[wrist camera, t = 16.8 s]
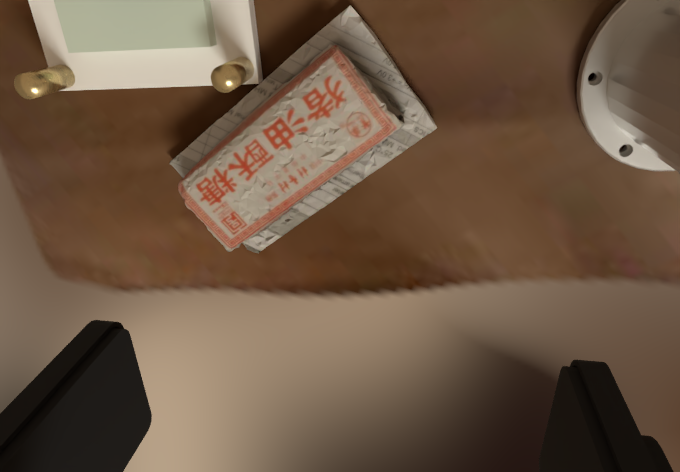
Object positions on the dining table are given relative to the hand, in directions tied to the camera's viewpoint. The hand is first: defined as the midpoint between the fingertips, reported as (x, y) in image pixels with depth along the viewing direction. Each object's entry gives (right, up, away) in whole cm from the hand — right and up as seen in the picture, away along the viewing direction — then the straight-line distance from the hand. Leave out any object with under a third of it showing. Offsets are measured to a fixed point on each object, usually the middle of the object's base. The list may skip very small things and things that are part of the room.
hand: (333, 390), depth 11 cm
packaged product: (-3, +11, +27) cm, 29 cm away
